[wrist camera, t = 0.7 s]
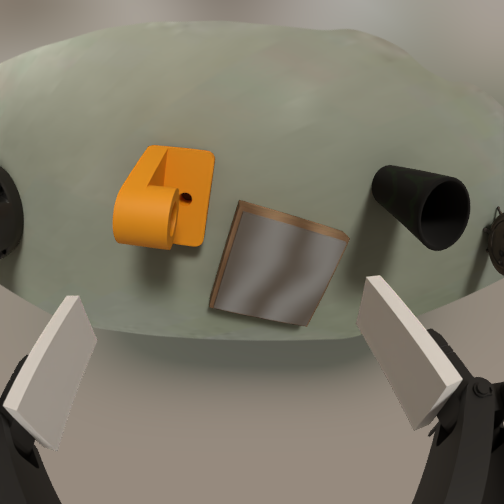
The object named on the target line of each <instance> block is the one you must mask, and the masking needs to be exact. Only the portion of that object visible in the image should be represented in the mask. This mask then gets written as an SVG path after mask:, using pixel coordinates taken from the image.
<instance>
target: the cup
mask: <svg viewBox="0 0 504 504" xmlns="http://www.w3.org/2000/svg"><path fill="white" fill-rule="evenodd" d="M372 192H373V195H374V197H375V199H376V200H377V202H378V203H380V204H381V205H382V206H383V207H384V208H385V209H386V210H388V211H389V212H390V213H391V214H392V215H393V216H394V217H395V218H396V219H398V220H399V221H400V222H401V223H402V224H403V225H404V226H405V227H406V228H407V229H408V230H409V231H410V232H411V233H412V234H414V235H415V236H416V237H417V238H418V239H419V240H420V241H421V242H422V243H423V244H424V245H425V246H426V247H427V248H429V249H431V250H434V251H441V250H444V249H447V248H448V247H450V246H452V245H453V244H454V243H455V242H456V241H457V240H458V239H459V238H460V236H461V235H462V234H463V232H464V230H465V228H466V226H467V223H468V219H469V215H470V198H469V194H468V191H467V189H466V187H465V185H464V184H463V183H462V182H461V181H460V180H458V179H457V178H454V177H449V176H445V175H440V174H436V173H431V172H426V171H421V170H415V169H410V168H404V167H398V166H392V165H388V166H385V167H382V168H381V169H380V170H379V171H378V172H377V173H376V174H375V176H374V179H373V182H372Z"/></svg>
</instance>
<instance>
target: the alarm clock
mask: <svg viewBox="0 0 504 504" xmlns="http://www.w3.org/2000/svg"><path fill="white" fill-rule="evenodd" d="M497 209H498V211H499V214H500V215H499V216H498V217H497V218H496V219H495V221H494V222H493V224H492V226H491V229H490V230H489V229H487V228H484V229H483V230H484V231H485V232H487V233H488V234H489V238H488V249H487V250H486V252H489V255H490V259H491V261H492V264H493V266H494V267H495V269H496V270H497V271H498V272H499V273H500V274H502V275H504V213H502V212H501V211H500V207H497Z"/></svg>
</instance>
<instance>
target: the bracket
mask: <svg viewBox="0 0 504 504" xmlns="http://www.w3.org/2000/svg"><path fill="white" fill-rule="evenodd" d="M214 164H215V157H214V155H213V153H211V152H210V151H205V150H197V149H189V148H179V147H169V146H158V145H152V146H148V148H147V149H146V151H145V152H144V153H143V155H142V156H141V158H140V159H139V161H138V162H137V164H136V165H135V167H134V168H133V170H132V171H131V173H130V174H129V176H128V178H127V179H126V181H125V182H124V184H123V186H122V187H121V189H120V191H119V193H118V195H117V198H116V202H115V206H114V213H113V233H114V237H115V240H116V241H117V242H118V243H121V244H129V245H136V246H143V247H150V248H158V249H165V250H170V249H171V247H172V244H180V245H187V246H199V245H201V244H202V242H203V239H204V235H205V227H206V220H207V214H208V206H209V199H210V192H211V185H212V178H213V170H214ZM182 193H189V194H190V195H191V197H192V199H191V200H186V199H184V198H183V196H182Z"/></svg>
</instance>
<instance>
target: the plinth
mask: <svg viewBox="0 0 504 504" xmlns="http://www.w3.org/2000/svg"><path fill="white" fill-rule="evenodd" d="M349 240H350V238H349V237H348V236H347V235H346V234H345V233H344V232H343V231H340V230H337V229H334V228H331V227H328V226H324V225H321V224H318V223H315V222H312V221H309V220H305V219H302V218H299V217H296V216H292V215H289V214H286V213H282V212H279V211H276V210H272V209H269V208H265V207H262V206H259V205H255V204H252V203H248V202H245V201H241V200H239V202H238V205H237V209H236V212H235V215H234V218H233V221H232V225H231V228H230V231H229V235H228V238H227V241H226V244H225V248H224V251H223V254H222V258H221V261H220V265H219V268H218V271H217V275H216V278H215V282H214V285H213V289H212V292H211V296H210V304H209V307H210V308H215V309H219V310H224V311H228V312H233V313H238V314H242V315H247V316H252V317H257V318H262V319H267V320H273V321H278V322H283V323H289V324H294V325H300V326H306V327H307V325H308V324H309V322H310V320H311V318H312V316H313V314H314V312H315V310H316V308H317V306H318V304H319V302H320V300H321V299H322V297H323V295H324V293H325V291H326V289H327V286H328V284H329V282H330V280H331V278H332V276H333V274H334V272H335V270H336V268H337V266H338V264H339V261H340V259H341V257H342V255H343V253H344V251H345V248H346V246H347V244H348V242H349Z"/></svg>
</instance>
